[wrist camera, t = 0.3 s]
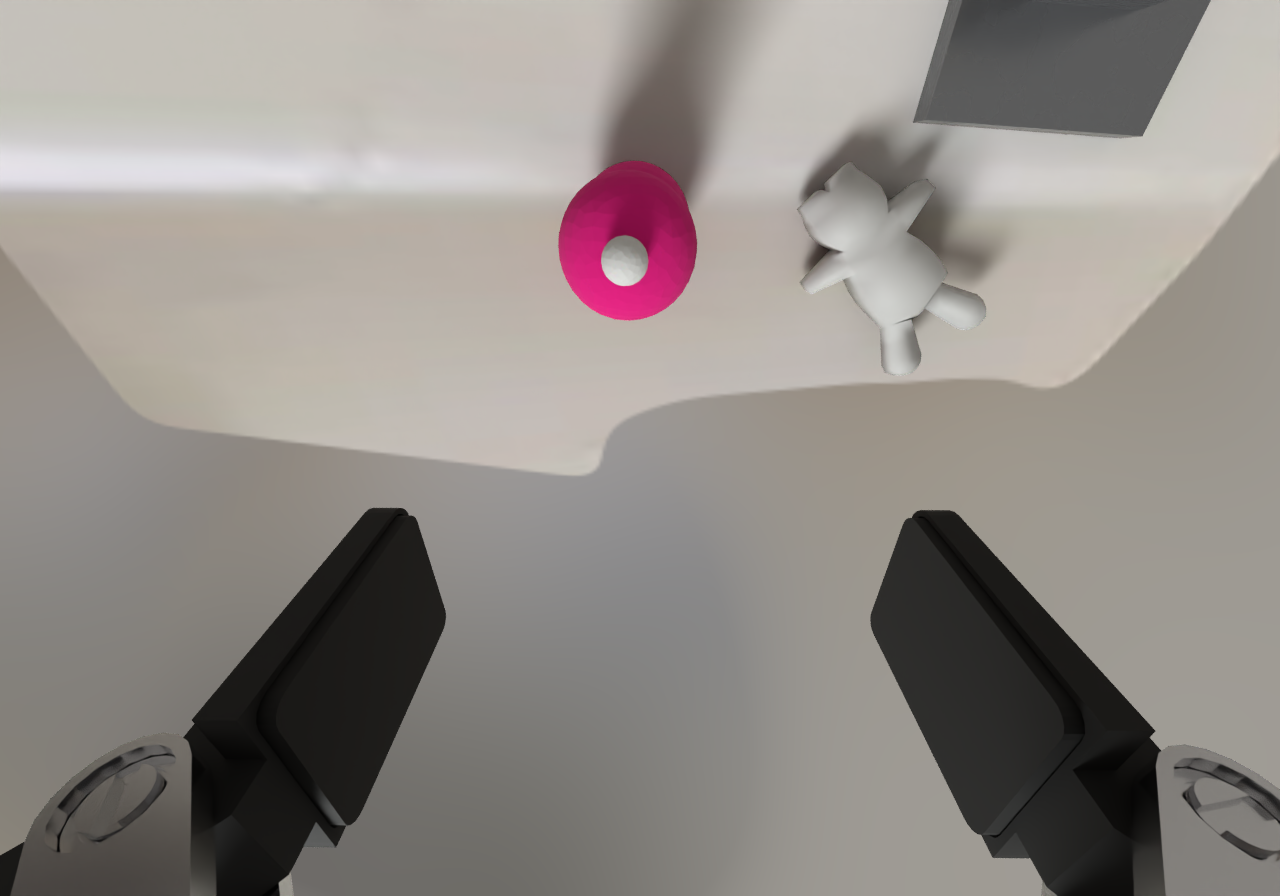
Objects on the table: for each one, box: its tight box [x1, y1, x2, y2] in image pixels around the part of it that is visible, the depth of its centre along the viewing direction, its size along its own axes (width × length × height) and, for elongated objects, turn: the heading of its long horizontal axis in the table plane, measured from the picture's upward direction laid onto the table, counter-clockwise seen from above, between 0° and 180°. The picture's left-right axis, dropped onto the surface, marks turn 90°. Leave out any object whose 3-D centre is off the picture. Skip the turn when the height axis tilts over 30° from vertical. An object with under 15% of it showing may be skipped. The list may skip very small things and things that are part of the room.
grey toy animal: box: [797, 162, 986, 375], centre depth 33 cm, size 10×5×15 cm
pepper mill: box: [558, 161, 697, 320], centre depth 25 cm, size 7×7×20 cm
